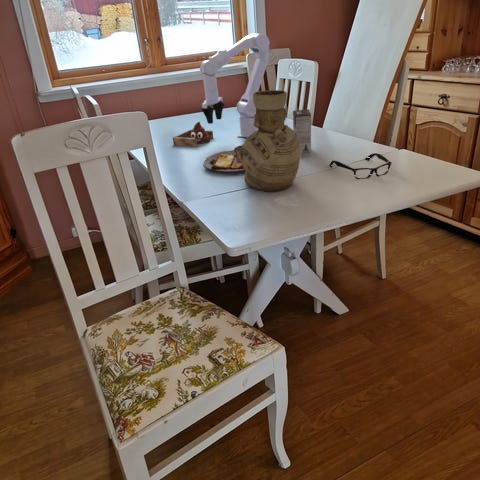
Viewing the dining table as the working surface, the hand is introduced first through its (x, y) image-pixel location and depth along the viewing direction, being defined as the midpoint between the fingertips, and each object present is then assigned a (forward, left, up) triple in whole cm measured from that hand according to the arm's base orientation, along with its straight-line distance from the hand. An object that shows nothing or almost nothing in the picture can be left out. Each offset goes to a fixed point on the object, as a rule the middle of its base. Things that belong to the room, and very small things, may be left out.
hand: (214, 121), depth 190 cm
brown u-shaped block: (+11, +2, -9) cm, 15 cm away
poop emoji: (+9, +2, -10) cm, 13 cm away
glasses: (-71, +21, -10) cm, 75 cm away
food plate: (-25, +27, -10) cm, 38 cm away
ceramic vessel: (-48, +43, -10) cm, 65 cm away
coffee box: (-45, +7, -10) cm, 46 cm away
